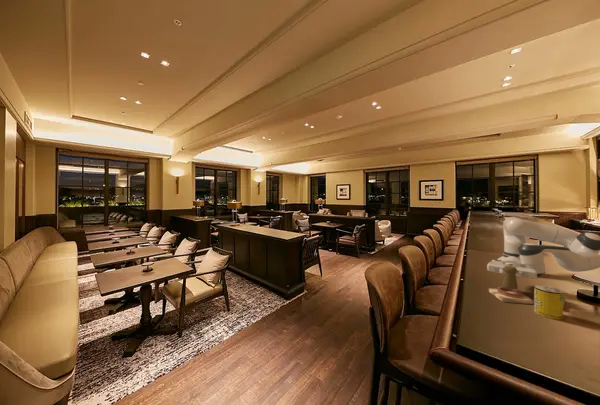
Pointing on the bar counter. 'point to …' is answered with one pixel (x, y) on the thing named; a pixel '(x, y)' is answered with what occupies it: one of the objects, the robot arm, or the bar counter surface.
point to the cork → (510, 277)
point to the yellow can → (548, 302)
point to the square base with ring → (510, 295)
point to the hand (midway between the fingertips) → (510, 273)
